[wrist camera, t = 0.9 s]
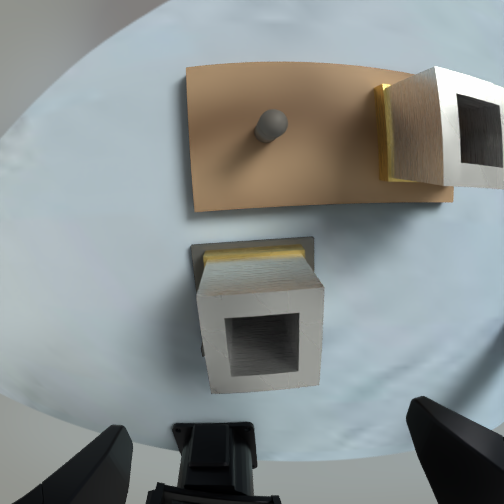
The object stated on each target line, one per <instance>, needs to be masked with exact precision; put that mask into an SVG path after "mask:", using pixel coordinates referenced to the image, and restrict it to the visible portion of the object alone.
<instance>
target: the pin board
mask: <svg viewBox="0 0 504 504" xmlns="http://www.w3.org/2000/svg"><path fill="white" fill-rule="evenodd" d="M413 75H415V74H409V73H404V72H398V71H392V70H385V69H379V68H371V67H363V66H354V65H343V64H330V63H313V62H245V63H228V64H215V65H205V66H195V67H187V68H186V82H187V107H188V127H189V144H190V159H191V173H192V186H193V198H194V210H195V212H204V211H217V210H231V209H246V208H262V207H279V206H299V205H321V204H350V203H395V202H453V191H454V186H441V185H435V184H429V183H423V182H388V181H381V180H379V158H378V136H377V120H376V108H375V97H374V88H375V87H377V86H379V85H381V84H389V85H393V84H395V83H397V82H399V81H402V80H404V79H406V78H409V77H411V76H413ZM459 131H460V140H461V136H462V134H461V130H460V128H459Z"/></svg>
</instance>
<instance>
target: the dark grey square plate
mask: <svg viewBox="0 0 504 504" xmlns="http://www.w3.org/2000/svg"><path fill="white" fill-rule="evenodd" d="M295 244H301V245H302V247H303V248H304V249H305V260H306V261H307V263H308V264H309V266H310V267H311V269H312V270H313V271H314V238H313V237H298V238H282V239H266V240H251V241H237V242H222V243H208V244H194V245H191V252H192V261H193V269H194V277H195V285H196V293H197V292H198V289H199V285H200V282H201V279H202V275H203V272H204V260H203V256H204V253H205V251H206V250H221V249H235V248H250V247H265V246H280V245H295ZM201 351H202V357H204V356H205V354H204V347H203V341H202V346H201Z"/></svg>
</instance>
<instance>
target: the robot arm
mask: <svg viewBox="0 0 504 504" xmlns="http://www.w3.org/2000/svg"><path fill="white" fill-rule="evenodd" d="M406 422H407V425H408V428H409V431H410V434H411V437H412V440H413V444H414V447H415V450H416V453H417V456H418V458H419V460H420V463H421V465H422V468H423V470H424V472H425V474H426V477H427V479H428V481H429V483H430V486H431V488H432V490H433V493H434V495H435V497H436V499H437V502H438V504H504V437H503V436H502V435H500V434H498V433H496V432H494V431H492V430H490V429H488V428H486V427H484V426H482V425H480V424H478V423H476V422H474V421H472V420H470V419H468V418H466V417H464V416H462V415H460V414H458V413H456V412H454V411H452V410H450V409H448V408H446V407H444V406H442V405H440V404H438V403H437V402H435V401H433V400H431V399H429V398H427V397H425V396H420V397H417V398H414V399H412V401H411V403H410V406H409V409H408V412H407V415H406ZM247 427H248V428H247ZM172 431H173V434H174V437H175V440H176V443H177V445H178V448H179V451H180V453H181V456H182V457H181V464H180V471H179V478H178V485H177V487H174V486H168V485H165V484H164V483H159V482H157V486H156V489H155V490H152V491H148V495H147V500H146V504H281V501H280V498H279V496H278V495H271V496H254V489H253V474H252V469H254V468H256V467H257V455H256V444H255V433H254V425H253V424H252V423H251V422H238V423H203V424H193V423H176V424H174V425H173V428H172ZM132 452H133V443H132V440H131V438H130V436H129V434H128V432H127V430H126V428H125V427H124V426H122V425H111V426H109V427H108V428H107V429H106V430H105V431H103V432H102V433H101V434H100V435H99V436H98V437H96V438H95V439H94V440H93V441H92V442H90V443H89V444H88V445H87V446H86V447H85V448H83V449H82V450H81V451H80V452H79V453H77V454H76V455H75V456H74V457H72V458H71V459H70V460H69V461H68V462H66V463H65V464H64V465H63V466H62V467H60V468H59V469H58V470H57V471H55V472H54V473H53V474H52V475H50V476H49V477H48V478H47V479H46V480H44V481H43V482H42V484H39V485H38V486H37V487H35V488H34V489H33V490H31V491H30V492H29V493H27V494H26V495H25V496H23V497H22V498H20V499H18V500H17V501H15V502H14V503H12V504H125V502H126V498H127V493H128V488H129V481H130V471H131V460H132Z"/></svg>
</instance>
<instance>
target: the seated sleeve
mask: <svg viewBox="0 0 504 504" xmlns="http://www.w3.org/2000/svg"><path fill="white" fill-rule="evenodd" d="M374 97H375V108H376V120H377V136H378V158H379V180H381V181H388V182H423V183H429V184H435V185H441V186H458V187H477V188H492V189H504V88H502V87H500V86H497V85H494V84H491V83H489V82H486V81H483V80H480V79H477V78H474V77H471V76H467V75H464V74H461V73H457V72H454V71H450V70H447V69H443V68H439V67H432V68H430V69H428V70H425V71H423V72H420V73H418V74H416V75H413V76H411V77H409V78H406V79H404V80H402V81H399V82H397V83H395V84H393V85H389V84H381V85H379V86H377V87H375V88H374ZM459 128H460V130H461V134H462V136H461V140H460V131H459Z"/></svg>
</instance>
